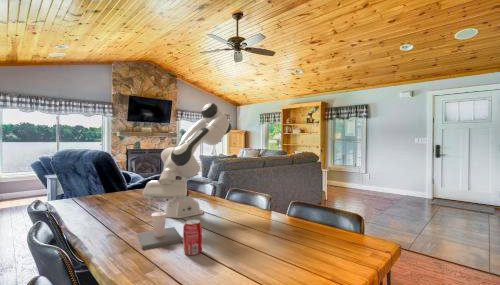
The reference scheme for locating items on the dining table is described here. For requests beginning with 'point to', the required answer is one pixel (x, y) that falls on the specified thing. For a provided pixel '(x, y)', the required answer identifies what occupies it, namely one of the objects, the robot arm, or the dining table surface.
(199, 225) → the soda can
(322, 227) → the dining table surface
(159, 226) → the smoothie
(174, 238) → the gray square slab
